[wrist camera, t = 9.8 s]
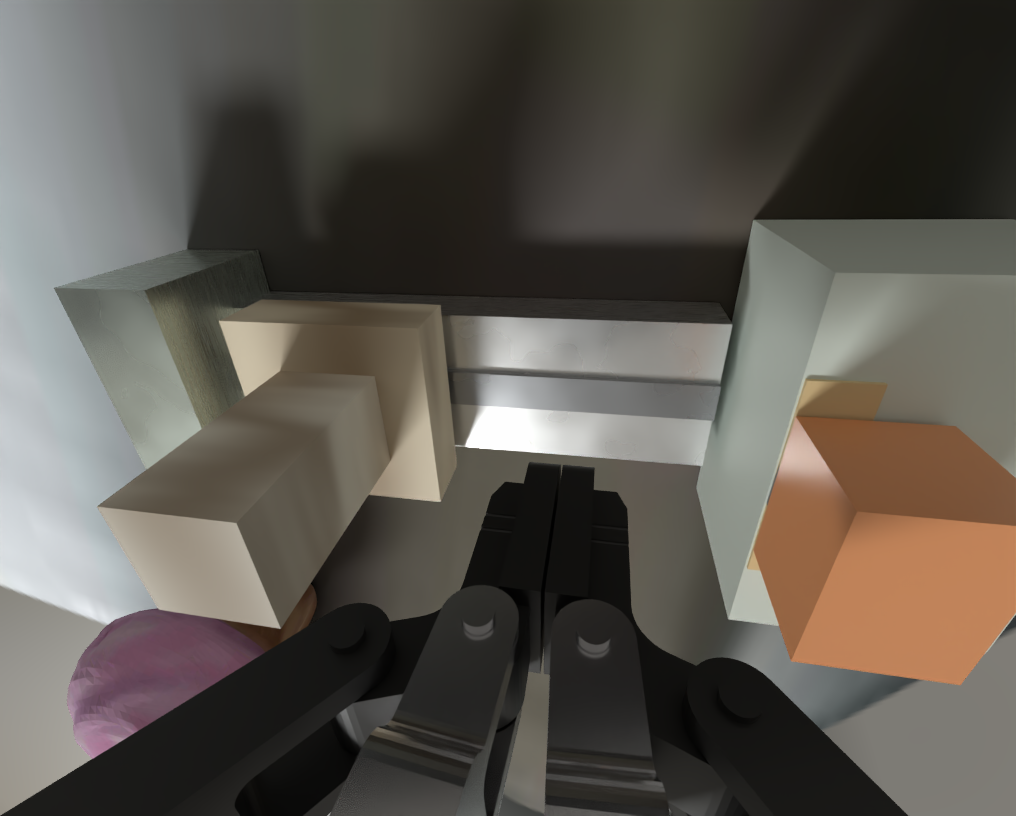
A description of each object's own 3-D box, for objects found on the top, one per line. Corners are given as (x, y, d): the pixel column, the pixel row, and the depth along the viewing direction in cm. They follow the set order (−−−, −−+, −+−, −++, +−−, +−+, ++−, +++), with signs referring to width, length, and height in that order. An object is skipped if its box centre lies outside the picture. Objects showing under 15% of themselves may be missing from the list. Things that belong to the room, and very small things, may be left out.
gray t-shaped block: (250, 430, 22) (163, 503, 18) (186, 249, 18) (53, 288, 14) (687, 466, 19) (710, 566, 14) (728, 254, 15) (777, 306, 10)
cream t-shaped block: (306, 452, 18) (130, 641, 12) (261, 299, 15) (-11, 435, 9) (457, 465, 17) (359, 681, 11) (440, 304, 14) (290, 462, 8)
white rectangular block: (696, 487, 19) (728, 622, 14) (753, 219, 14) (837, 274, 9) (879, 503, 18) (988, 656, 13) (1011, 219, 13) (1280, 280, 8)
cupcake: (375, 597, 26) (265, 819, 18) (293, 643, 30) (170, 843, 22) (245, 491, 24) (46, 690, 16) (173, 556, 28) (-17, 743, 20)
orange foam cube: (753, 550, 12) (791, 661, 10) (795, 415, 10) (856, 511, 8) (884, 564, 12) (960, 685, 9) (955, 426, 10) (1077, 531, 7)
